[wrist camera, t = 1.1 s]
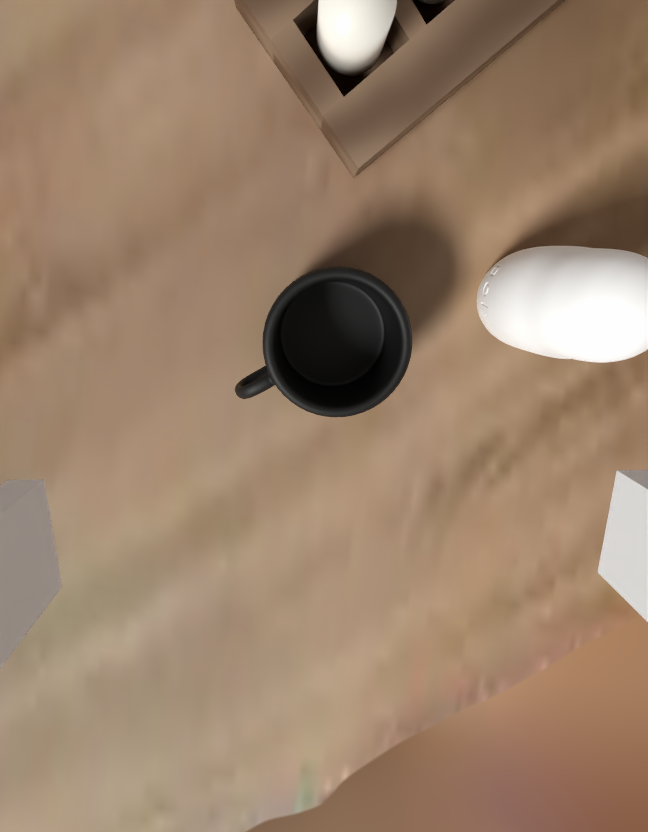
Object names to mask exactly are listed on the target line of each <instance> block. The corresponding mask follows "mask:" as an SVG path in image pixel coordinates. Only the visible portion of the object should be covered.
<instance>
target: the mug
mask: <svg viewBox="0 0 648 832" xmlns="http://www.w3.org/2000/svg"><path fill="white" fill-rule="evenodd" d="M411 350H412V332H411V326H410V322H409V318H408V315H407V313H406V310H405V308H404V306H403V305H402V303H401V301H400V300H399V298H398V297H397V296H396V294H395V293H394V292H393V291H392V290H391V289H390V288H389V287H388V286H387V285H386V284H385V283H384V282H382V281H381V280H380V279H378V278H376V277H375V276H373V275H371V274H369V273H366V272H364V271H361V270H358V269H354V268H348V267H328V268H322V269H318V270H315V271H312V272H309V273H307V274H305V275H303V276H301V277H300V278H298V279H297V280H295V281H293V282H292V283H291V284H290V285H289V286H288V287H286V288H285V289H284V291H283V292H282V293H281V294H280V295H279V296H278V298H277V299H276V301H275V302H274V304H273V305H272V307H271V309H270V311H269V314H268V316H267V319H266V322H265V327H264V332H263V354H264V359H265V364H266V366H264V367H263V368H261V369H259V370H257V371H255V372H254V373H252V374H250V375H249V376H247V377H245V378H244V379H242V380H241V381H240V382H239V383H238V384H237V385H236V387H235V392H236V394H237V396H238V397H240V398H242V399H247V398H250V397H253V396H255V395H257V394H260V393H261V392H263V391H265V390H267V389H269V388H271V387H272V386H274V385H276V386H277V388H278V389H279V390H280V391H281V392H282V394H283V395H284V396H285V397H286V398H288V399H289V400H290V401H291V402H292V403H294V404H295V405H297V406H298V407H300V408H302V409H304V410H306V411H308V412H311V413H314V414H317V415H321V416H326V417H346V416H352V415H356V414H359V413H363V412H365V411H367V410H369V409H372V408H373V407H375V406H377V405H378V404H380V403H381V402H382V401H383V400H385V399H386V398H387V397H388V396H389V395H390V394H391V393H392V392H393V391H394V390H395V388H396V387H397V386H398V385H399V383H400V381H401V380H402V378H403V376H404V374H405V372H406V370H407V367H408V364H409V361H410V357H411Z"/></svg>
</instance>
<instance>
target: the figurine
mask: <svg viewBox="0 0 648 832" xmlns="http://www.w3.org/2000/svg"><path fill="white" fill-rule="evenodd" d="M477 309H478V313H479V316H480V318H481V321H482V322H483V324H484V326H485V327H486V328H487V330H488V331H489V332H490V333H491V334H492V335H493V336H495V337H496V338H497V339H499V340H501V341H502V342H504V343H506V344H508V345H511V346H513V347H516V348H519V349H522V350H525V351H529V352H532V353H536V354H539V355H543V356H548V357H553V358H561V359H575V360H581V361H588V362H614V361H620V360H624V359H628V358H631V357H634V356H636V355H638V354H640V353H642V352H644V351H646V350H647V349H648V258H647V257H644V256H642V255H640V254H637V253H634V252H630V251H624V250H617V249H604V248H589V247H580V246H542V247H533V248H528V249H524V250H520V251H517V252H514V253H512V254H510V255H508V256H506V257H504V258H503V259H501V260H500V261H498V262H497V263H496V264H495V265H494V266H493V267H492V268H491V269H490V270H489V271H488V272H487V273H486V275H485V276H484V278H483V279H482V281H481V284H480V286H479V289H478V293H477Z"/></svg>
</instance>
